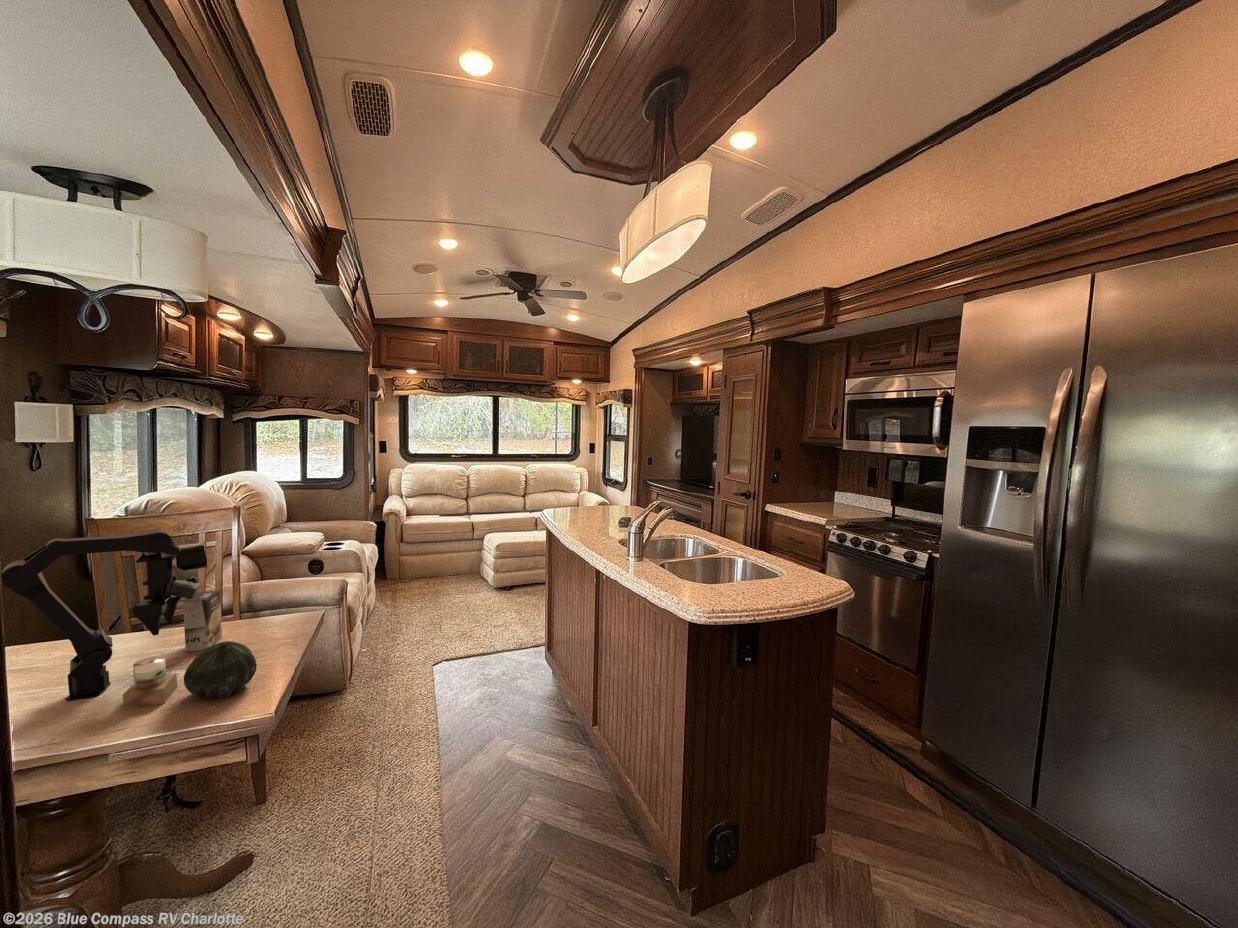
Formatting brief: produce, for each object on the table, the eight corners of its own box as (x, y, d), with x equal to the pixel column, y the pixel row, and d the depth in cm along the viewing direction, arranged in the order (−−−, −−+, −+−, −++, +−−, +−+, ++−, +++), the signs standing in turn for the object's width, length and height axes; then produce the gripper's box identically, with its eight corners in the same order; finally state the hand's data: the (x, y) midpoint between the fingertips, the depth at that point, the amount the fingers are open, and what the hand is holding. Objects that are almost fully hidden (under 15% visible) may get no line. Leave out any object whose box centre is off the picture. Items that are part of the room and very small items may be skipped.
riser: (123, 709, 126) (122, 694, 125) (138, 693, 133) (137, 678, 133) (164, 703, 129) (163, 688, 129) (177, 687, 136) (176, 673, 136)
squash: (203, 658, 141) (187, 634, 131) (266, 652, 146) (255, 629, 136) (186, 711, 132) (167, 690, 122) (254, 703, 137) (242, 682, 127)
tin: (129, 691, 127) (128, 668, 126) (141, 679, 132) (139, 657, 132) (160, 687, 129) (159, 664, 128) (170, 675, 135) (169, 654, 134)
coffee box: (209, 649, 158) (206, 600, 156) (184, 652, 156) (181, 601, 154) (222, 637, 166) (220, 590, 165) (199, 639, 164) (196, 591, 163)
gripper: (182, 581, 136) (186, 637, 137) (206, 562, 153) (209, 612, 154) (128, 586, 131) (133, 644, 133) (159, 566, 148) (163, 617, 150)
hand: (163, 628), depth 143 cm, fingers open, 9 cm apart
